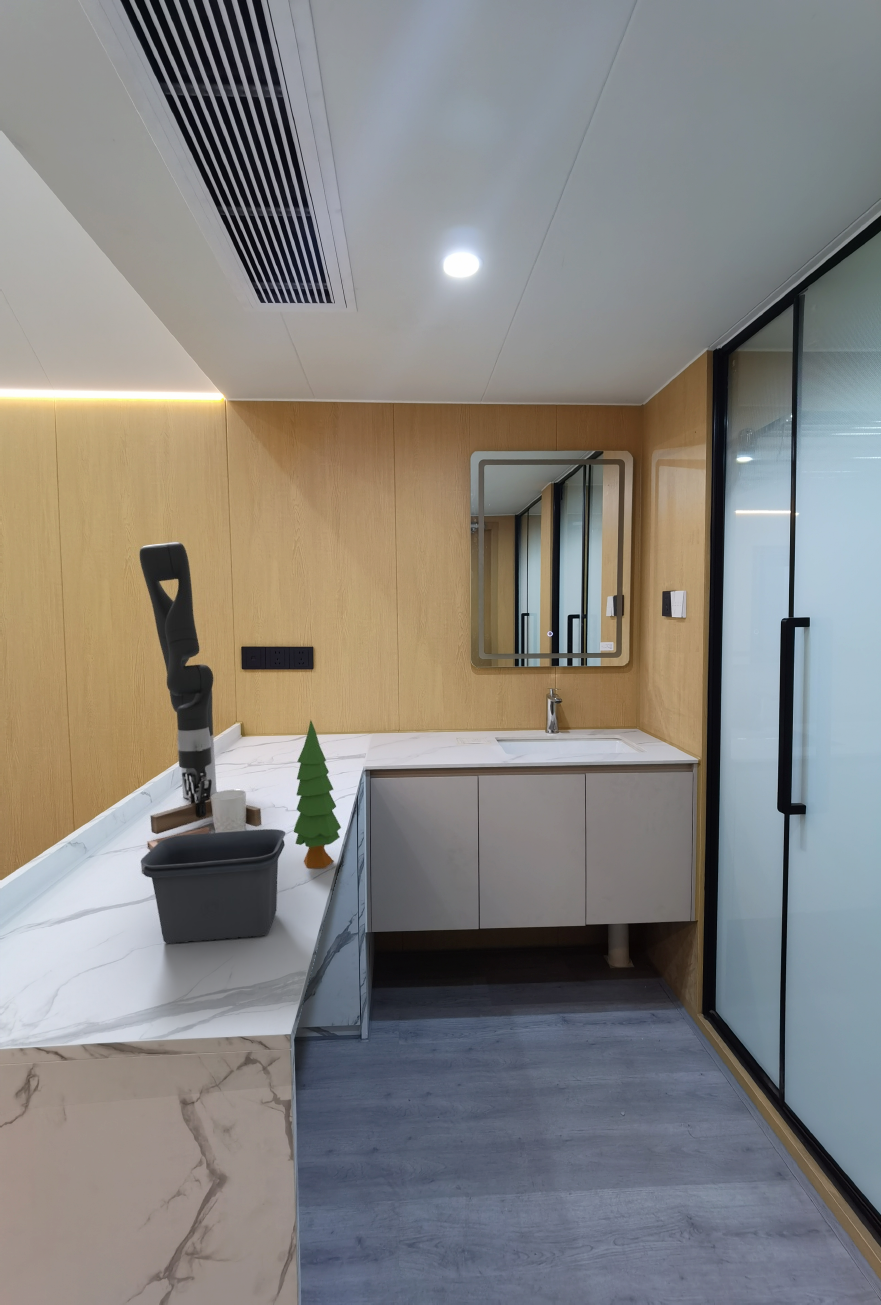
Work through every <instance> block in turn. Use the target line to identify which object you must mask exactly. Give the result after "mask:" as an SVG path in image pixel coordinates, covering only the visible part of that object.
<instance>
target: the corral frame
mask: <svg viewBox="0 0 881 1305" xmlns="http://www.w3.org/2000/svg"><path fill="white" fill-rule="evenodd" d="M205 833H210V827H208V826H205V827H201V828H198V829H193V830H189V831H184V832H180V833H177V834H171V835H168V836H165V837H161V838H157V839H152V840H149V841H146V843H147V848H149V850H152V849H153V848H154V847H155V846H156V845H157V844H158V843H159V842H160V841H162V840H164V839H167V838H170V837H174V836H179V835H190V834H205Z"/></svg>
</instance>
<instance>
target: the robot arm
mask: <svg viewBox="0 0 881 1305" xmlns="http://www.w3.org/2000/svg"><path fill="white" fill-rule="evenodd" d="M188 557H189V556H188V553H187V550H186V548H185V546H184V545H183V544H182V543H181V542H178V541H177V542H168V543H167V542H165V543H157V544H149V545H144V546H142V547H141V548H140V550H139V561H140V566H141V570H142V574H143V577H144V582H145V585H146V588H147V591H148V594H149V597H150V598H149V599H150V602H151V605H152V606H151V607H152V609H153V610H152V611H153V615H154V622H155V626H156V631H157V632H156V633H157V636H158V641H159V645H160V649H161V652H162V656H163V659H164V660H163V661H164V665H165V668H166V687H167V689H168V691H169V696H170V702H171V706H172V708H173V710H174V712H175V713H176V720H177V721H176V722H177V741H176V742H177V753H178V754H177V755H178V756H177V757H178V766H179V767H180V769H181V770H180V771H181V786H182V789H181V790H182V797H183V798H185V799H189V800H190V801H189V802H190V804H191V803H195V802H196V803H195V805H196V816H197V817H198V818H201V817H205V816H206V803H205V801H207V800H209V799H210V798H211V795H212V794H214V793H217V792H218V791H217V775H216V758H215V757H216V754H215V742H214V721H213V685H214V674H213V671H212V669H211V668H210V667H209V666H208V665H206V664H191V665H187V663H188V662H189V660H190V658H193V657H195V656H198V654H199V653H200V645H199V639H198V635H197V634H198V633H197V628H196V624H195V622H196V621H195V617H194V607H193V606H194V602H193V601H194V600H193V590H192V589H193V588H192V579H191V578H192V577H191V569H190V562H189V558H188ZM173 580H174V581H175V580H177V581H178V585H177V586H178V587H177V593H176V596H175V597H174V600H173V599H172V598H171V596H169V595H168V594H167V592H166V591H165V589H164V588H163V586H162V584H161V582H165V581H166V582H167V581H173Z"/></svg>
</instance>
